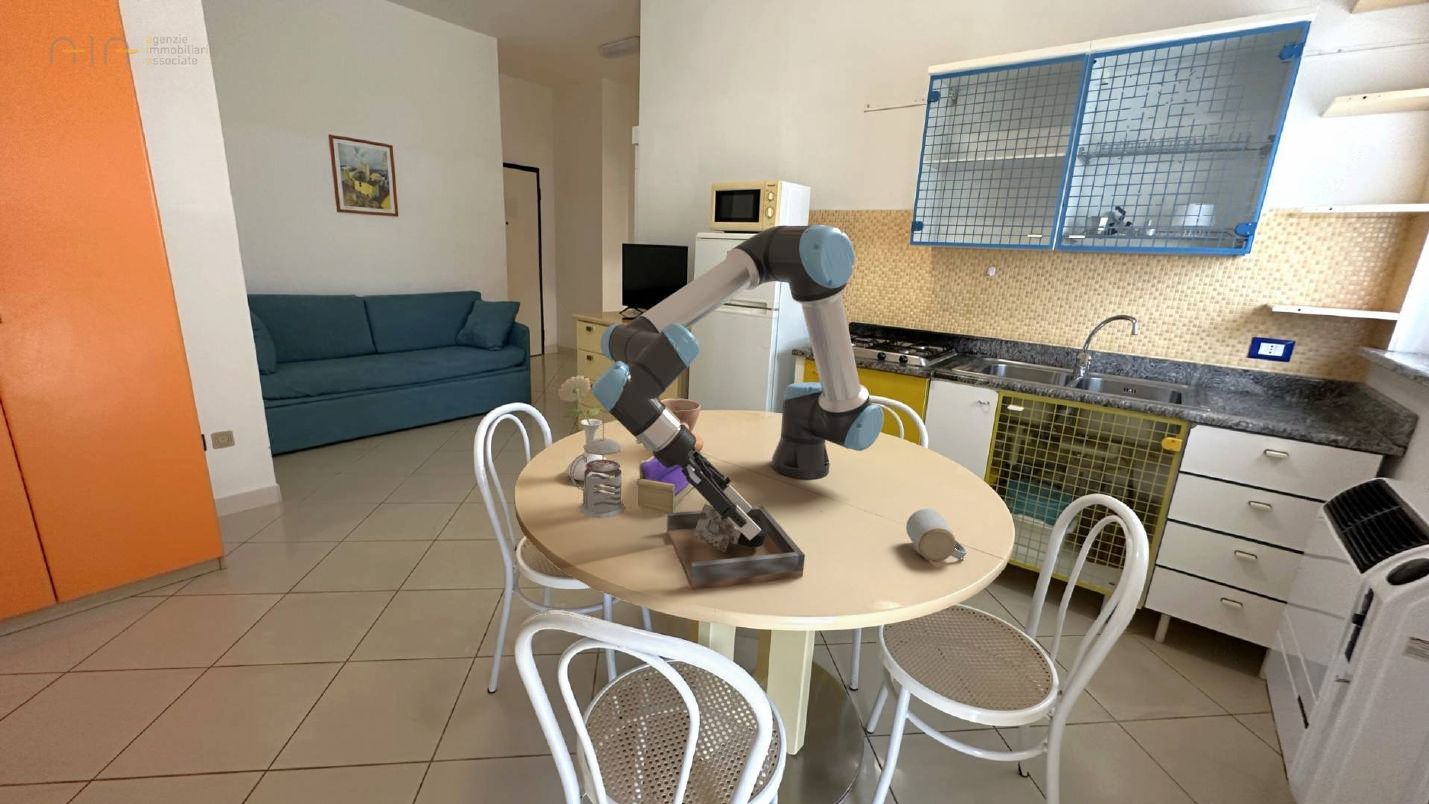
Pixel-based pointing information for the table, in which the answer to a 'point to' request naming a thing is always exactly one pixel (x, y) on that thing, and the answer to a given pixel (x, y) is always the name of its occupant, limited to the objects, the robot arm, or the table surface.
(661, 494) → the toy sofa
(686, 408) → the ceramic jug
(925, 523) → the ceramic mug
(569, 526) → the table surface
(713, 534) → the caster wheel
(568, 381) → the flower in vase
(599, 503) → the french press
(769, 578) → the square tray
